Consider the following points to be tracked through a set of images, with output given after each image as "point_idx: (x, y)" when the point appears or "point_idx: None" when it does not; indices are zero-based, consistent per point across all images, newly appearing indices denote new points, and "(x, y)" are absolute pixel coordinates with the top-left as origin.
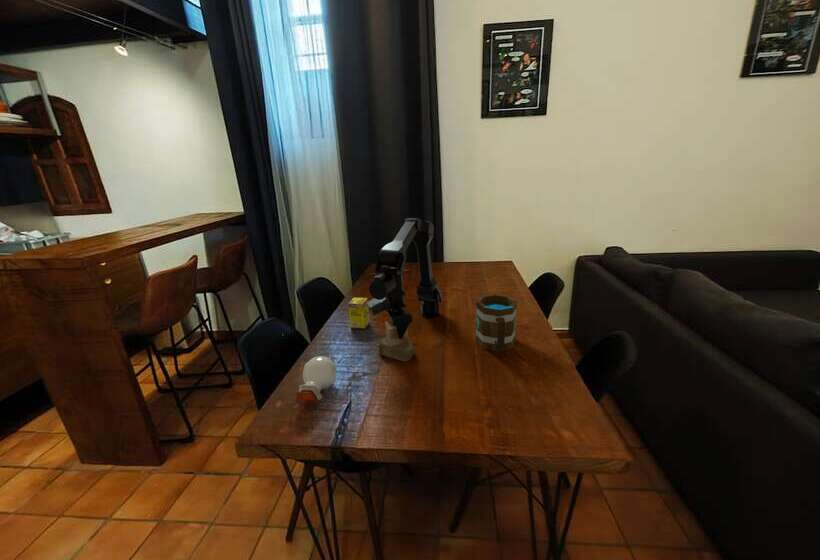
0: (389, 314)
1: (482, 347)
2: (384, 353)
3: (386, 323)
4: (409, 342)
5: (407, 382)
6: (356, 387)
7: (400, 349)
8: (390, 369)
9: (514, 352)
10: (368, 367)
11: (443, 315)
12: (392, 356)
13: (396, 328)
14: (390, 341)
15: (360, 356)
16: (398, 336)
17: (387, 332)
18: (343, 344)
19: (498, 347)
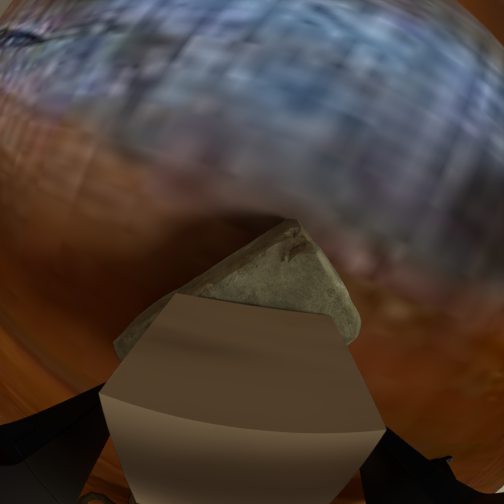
0: (424, 500)
1: None
2: (251, 242)
3: (315, 438)
4: None
5: (27, 249)
6: (82, 51)
7: (127, 333)
8: (113, 218)
9: (120, 501)
10: (184, 112)
11: None
12: (202, 274)
13: (21, 433)
14: (161, 314)
15: (325, 107)
16: (94, 391)
17: (253, 357)
18: (467, 97)
19: (80, 498)
